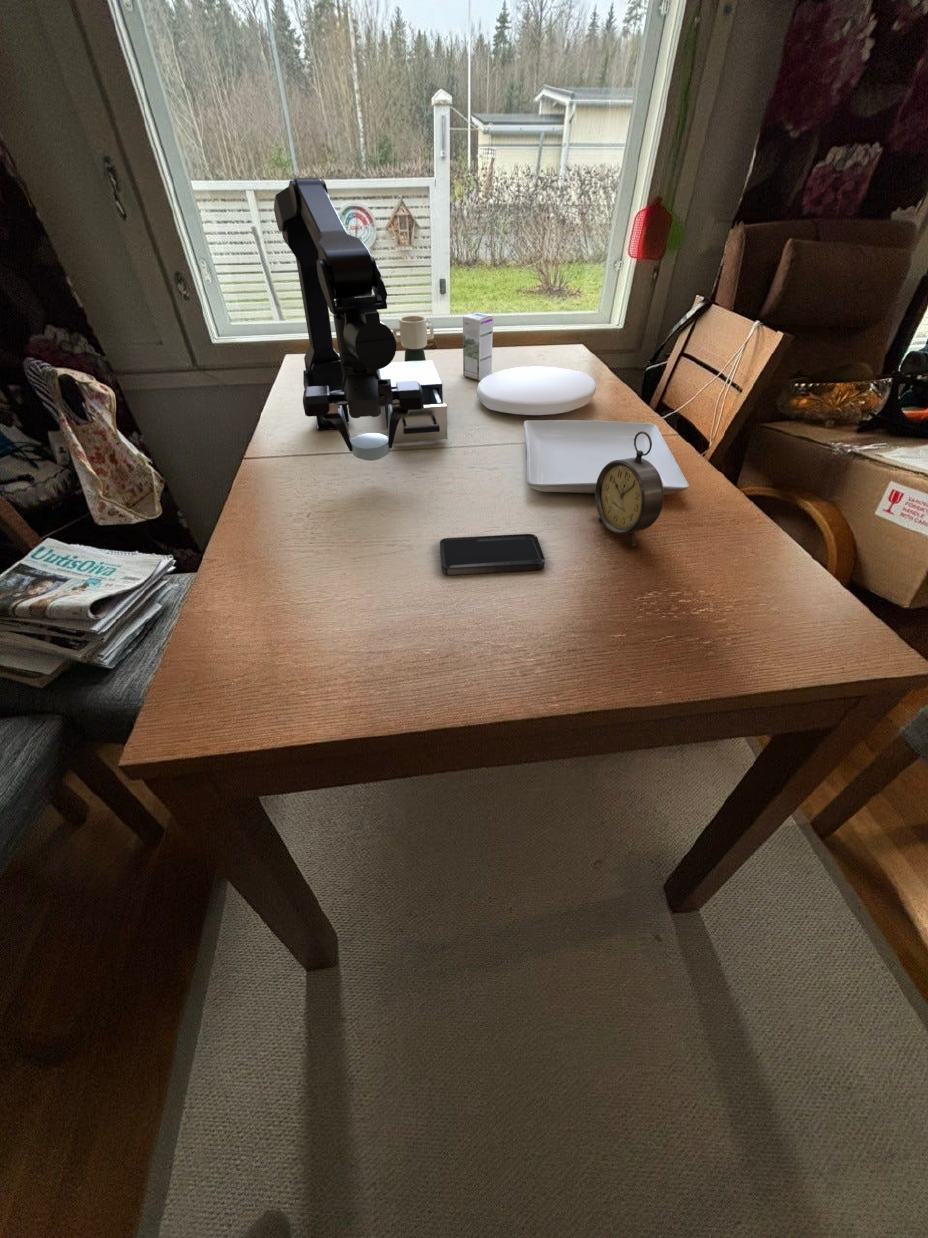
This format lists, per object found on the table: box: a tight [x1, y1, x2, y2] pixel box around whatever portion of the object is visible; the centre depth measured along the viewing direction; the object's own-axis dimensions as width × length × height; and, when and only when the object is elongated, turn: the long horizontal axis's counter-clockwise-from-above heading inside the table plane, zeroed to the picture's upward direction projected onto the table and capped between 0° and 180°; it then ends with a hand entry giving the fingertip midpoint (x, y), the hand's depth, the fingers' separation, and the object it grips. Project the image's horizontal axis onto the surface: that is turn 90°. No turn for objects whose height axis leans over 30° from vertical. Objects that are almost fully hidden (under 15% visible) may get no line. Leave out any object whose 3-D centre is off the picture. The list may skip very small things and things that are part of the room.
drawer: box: [393, 388, 449, 444], centre depth 105 cm, size 20×11×7 cm, turn 10°
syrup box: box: [462, 312, 494, 382], centre depth 130 cm, size 6×6×14 cm
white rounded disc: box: [476, 365, 597, 416], centre depth 120 cm, size 28×6×27 cm
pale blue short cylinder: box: [351, 432, 391, 462], centre depth 86 cm, size 6×6×3 cm
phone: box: [439, 533, 546, 576], centre depth 75 cm, size 8×1×15 cm
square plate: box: [523, 419, 690, 496], centre depth 95 cm, size 27×27×4 cm
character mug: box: [392, 315, 435, 362], centre depth 133 cm, size 11×7×13 cm, turn 108°
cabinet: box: [379, 359, 444, 429], centre depth 114 cm, size 17×13×9 cm
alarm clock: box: [594, 431, 665, 549], centre depth 75 cm, size 11×5×16 cm, turn 24°
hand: (370, 449), depth 87 cm, fingers closed on pale blue short cylinder, 6 cm apart
